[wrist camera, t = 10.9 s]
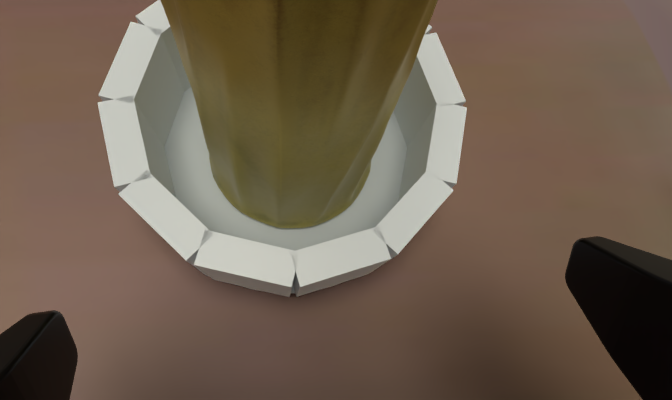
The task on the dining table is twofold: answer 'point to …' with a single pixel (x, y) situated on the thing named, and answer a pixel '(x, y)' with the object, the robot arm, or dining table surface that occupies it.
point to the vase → (295, 95)
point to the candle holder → (243, 231)
